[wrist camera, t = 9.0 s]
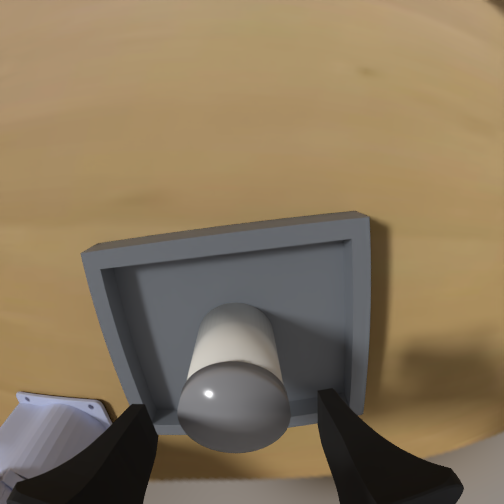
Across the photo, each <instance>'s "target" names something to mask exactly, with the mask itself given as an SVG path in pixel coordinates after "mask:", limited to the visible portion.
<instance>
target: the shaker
mask: <svg viewBox="0 0 504 504" xmlns="http://www.w3.org/2000/svg"><path fill="white" fill-rule="evenodd" d="M177 415H178V420H179V423H180V425H181V427H182V429H183V430H184V431H185V433H186V434H187V435H188V436H189V437H190V438H191V439H193V440H194V441H195V442H197V443H199V444H200V445H202V446H204V447H207V448H209V449H212V450H216V451H220V452H226V453H245V452H251V451H256V450H259V449H262V448H264V447H267V446H269V445H270V444H272V443H274V442H275V441H276V440H278V439H279V438H280V437H281V436H282V435H283V434H284V433H285V431H286V430H287V428H288V426H289V423H290V419H291V411H290V405H289V400H288V395H287V391H286V389H285V387H284V385H283V381H282V375H281V370H280V364H279V359H278V354H277V348H276V343H275V338H274V332H273V328H272V325H271V322H270V321H269V319H268V318H267V316H266V315H265V314H264V313H263V312H262V311H260V310H259V309H257V308H255V307H254V306H251V305H248V304H244V303H227V304H223V305H220V306H218V307H216V308H214V309H212V310H211V311H210V312H209V313H207V314H206V316H205V317H204V318H203V320H202V322H201V324H200V327H199V331H198V335H197V339H196V343H195V347H194V351H193V356H192V360H191V364H190V368H189V372H188V377H187V381H186V383H185V384H184V386H183V389H182V392H181V396H180V401H179V405H178V410H177Z"/></svg>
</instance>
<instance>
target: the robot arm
mask: <svg viewBox="0 0 504 504" xmlns="http://www.w3.org/2000/svg"><path fill="white" fill-rule="evenodd" d="M16 397H17V399H18V401H19V404H18V405H17V407H16V408H15V409H14V410H13V412H12V413H11V414H10V416H9V417H8V418H7V419H6V421H5V422H4V423H3V425H2V426H1V427H0V504H143V500H144V496H145V492H146V488H147V485H148V481H149V478H150V474H151V471H152V467H153V464H154V460H155V456H156V450H157V442H158V434H157V432H156V430H155V427H154V425H153V423H152V420H151V418H150V415H149V413H148V411H147V408H146V406H145V404H131V405H130V406H129V407H128V408H127V409H126V410H125V411H124V412H123V413H122V414H121V416H120V417H119V418H118V419H117V420H116V421H115V422H114V423H113V424H112V422H111V420H110V418H109V416H108V414H107V411H106V409H105V407H104V405H103V404H102V402H100V401H99V400H92V399H78V398H67V397H57V396H48V395H40V394H33V393H26V392H18V393H17V394H16ZM317 398H318V429H319V434H320V438H321V443H322V447H323V450H324V453H325V456H326V458H327V461H328V464H329V467H330V470H331V473H332V476H333V479H334V481H335V485H336V488H337V492H338V496H339V501H340V504H456V502H457V501H458V499H459V498H460V496H461V494H462V492H463V489H464V487H463V485H462V483H461V481H460V480H459V478H458V477H457V475H456V474H455V473H454V472H453V470H452V469H451V468H448V467H444V466H441V465H437V464H434V463H431V462H428V461H426V460H423V459H421V458H418V457H416V456H414V455H412V454H410V453H408V452H406V451H404V450H402V449H400V448H399V447H397V446H395V445H394V444H392V443H391V442H389V441H388V440H386V439H385V438H383V437H382V436H381V435H379V434H378V433H377V432H375V431H374V430H373V429H372V428H371V427H369V426H368V425H367V424H366V423H365V422H364V421H363V420H362V419H361V418H359V417H358V416H357V415H356V414H355V413H354V412H353V411H352V410H351V408H350V407H349V406H348V405H347V404H346V403H345V402H344V401H343V400H342V398H341V397H340V396H339V395H338V393H337V392H336V391H335V390H334V389H333V388H329V389H324V390H318V391H317Z"/></svg>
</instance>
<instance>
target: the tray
mask: <svg viewBox="0 0 504 504" xmlns="http://www.w3.org/2000/svg"><path fill="white" fill-rule="evenodd" d="M81 257H82V262H83V266H84V270H85V274H86V278H87V282H88V285H89V289H90V293H91V296H92V300H93V303H94V307H95V310H96V314H97V317H98V320H99V323H100V327H101V330H102V333H103V336H104V339H105V342H106V345H107V348H108V351H109V353H110V356H111V359H112V362H113V364H114V367H115V370H116V372H117V375H118V378H119V380H120V383H121V385H122V388H123V390H124V393H125V395H126V398H127V400H128V402H129V405H131V404H145V406H146V408H147V411H148V413H149V415H150V418H151V420H152V423H153V425H154V427H155V430H156V432H157V434H158V435H187V434H186V433H185V431H184V430H183V429H182V427H181V425H180V423H179V420H178V415H177V410H178V405H179V401H180V396H181V392H182V389H183V386H184V384H185V383H186V381H187V377H188V372H189V368H190V364H191V360H192V356H193V351H194V347H195V343H196V339H197V335H198V331H199V327H200V324H201V322H202V320H203V318H204V317H205V316H206V314H207V313H209V312H210V311H211V310H212V309H214V308H216V307H218V306H220V305H223V304H227V303H244V304H248V305H251V306H254V307H255V308H257V309H259V310H260V311H262V312H263V313H264V314H265V315H266V316H267V318H268V319H269V321H270V322H271V325H272V328H273V332H274V338H275V343H276V348H277V354H278V359H279V364H280V370H281V375H282V381H283V385H284V387H285V389H286V391H287V395H288V400H289V405H290V411H291V419H290V423H289V426H288V428H289V427H296V426H303V425H309V424H315V423H318V398H317V391H318V390H324V389H329V388H333V389H334V390H335V391H336V392H337V393H338V395H339V396H340V397H341V398H342V400H343V401H344V402H345V403H346V404H347V405H348V406H349V407H350V408H351V410H352V411H353V412H354V413H355V414H356V415H362V414H363V410H364V401H365V391H366V380H367V368H368V353H369V335H370V307H371V248H370V220H369V217H368V216H366V215H364V214H361V213H359V212H357V211H349V212H339V213H329V214H320V215H311V216H302V217H293V218H284V219H275V220H267V221H258V222H250V223H242V224H234V225H226V226H218V227H210V228H203V229H195V230H188V231H180V232H173V233H166V234H159V235H152V236H145V237H138V238H131V239H124V240H118V241H111V242H104V243H98V244H96V245H94V246H92V247H90V248H89V249H87V250H85V251H84V252H82V253H81Z"/></svg>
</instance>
